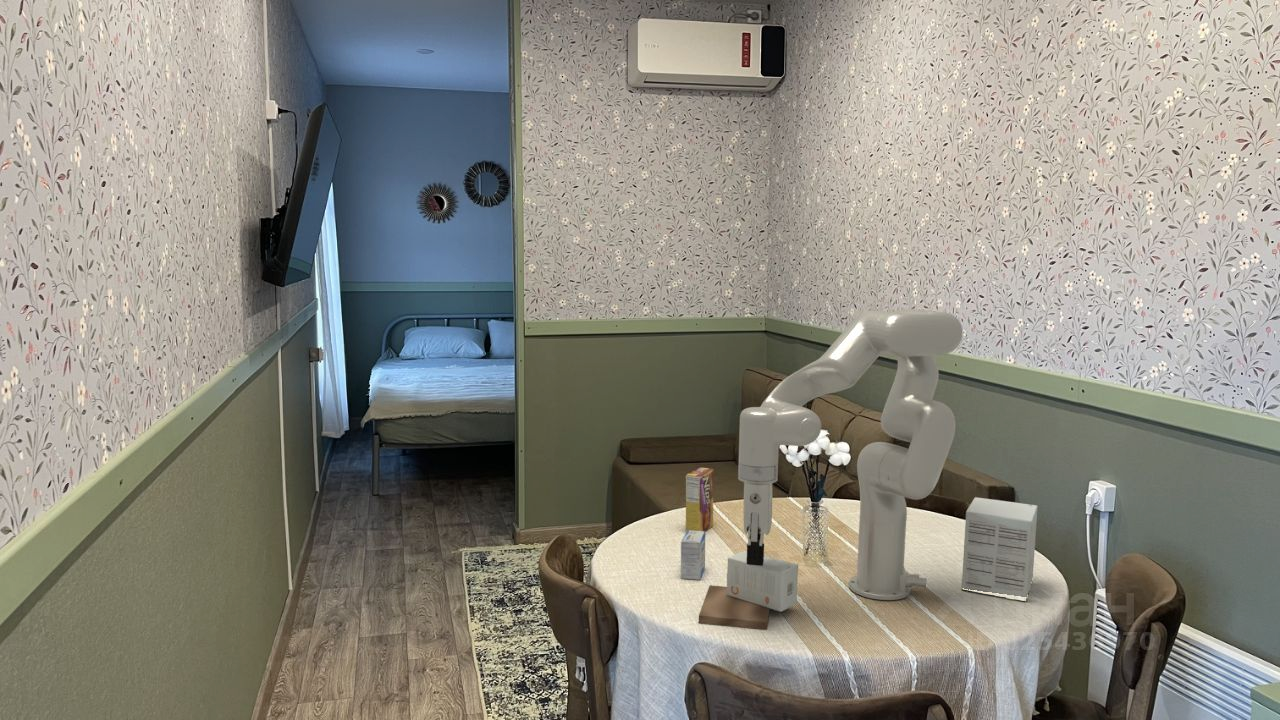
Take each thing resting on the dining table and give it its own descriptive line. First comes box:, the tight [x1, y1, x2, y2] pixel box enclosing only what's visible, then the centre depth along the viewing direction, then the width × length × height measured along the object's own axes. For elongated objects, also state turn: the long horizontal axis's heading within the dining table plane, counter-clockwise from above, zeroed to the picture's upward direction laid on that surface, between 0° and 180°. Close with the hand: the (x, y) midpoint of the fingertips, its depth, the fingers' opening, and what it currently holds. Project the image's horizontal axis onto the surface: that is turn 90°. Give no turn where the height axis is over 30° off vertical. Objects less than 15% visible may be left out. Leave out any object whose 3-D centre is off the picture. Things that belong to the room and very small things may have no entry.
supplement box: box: [961, 496, 1038, 597], centre depth 193 cm, size 13×13×18 cm
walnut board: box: [698, 584, 771, 630], centre depth 179 cm, size 13×16×2 cm
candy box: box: [685, 467, 714, 533], centre depth 229 cm, size 9×4×15 cm, turn 152°
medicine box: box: [680, 530, 706, 581], centre depth 198 cm, size 8×4×9 cm, turn 168°
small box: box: [726, 550, 799, 613], centre depth 180 cm, size 8×6×13 cm
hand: (755, 563), depth 175 cm, fingers closed
